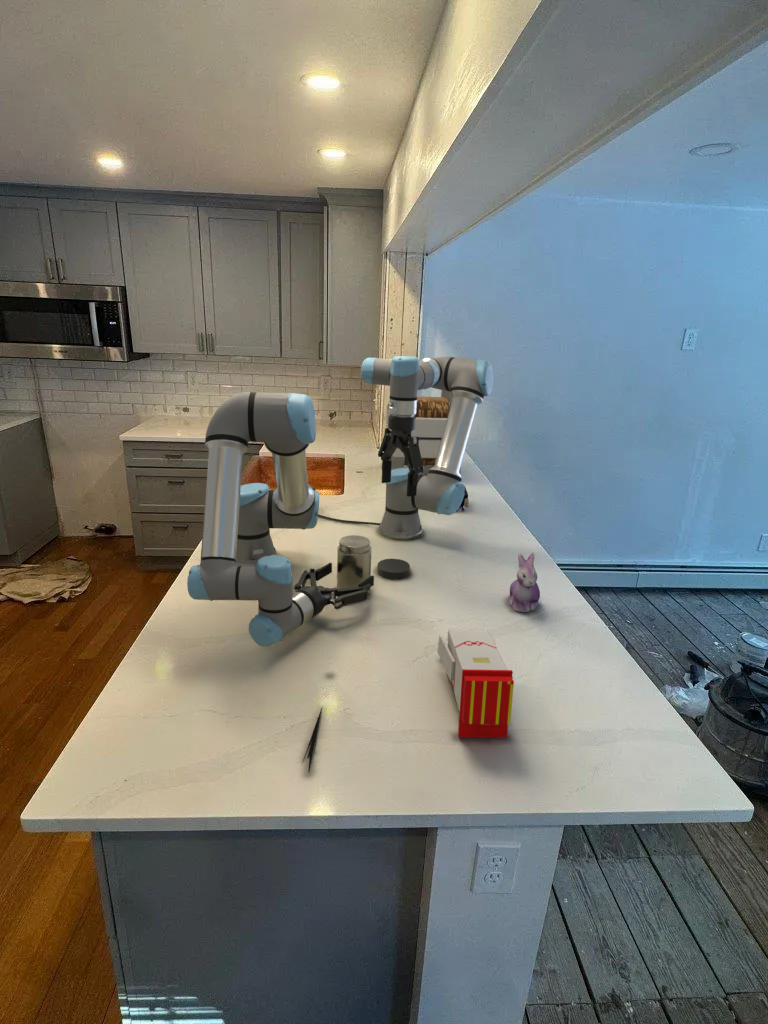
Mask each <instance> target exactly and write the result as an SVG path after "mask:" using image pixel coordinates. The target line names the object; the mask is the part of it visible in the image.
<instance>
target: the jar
mask: <svg viewBox="0 0 768 1024" xmlns="http://www.w3.org/2000/svg"><path fill="white" fill-rule="evenodd" d="M372 549H373V548H372V546H371V540H370V539H369V538H368V537H365V536H363V535H356V534H354V535H353V534H352V535H346V536H343V537H341V538H339V542H338V545H337V549H336V550H337V551H336V554H337V555H336V588H337V589H344V588H352V587H358V585H359V584H360V583H361V582H363V581H364V580H366V579H367V578H369V577H370V576H371V575H372V573H371V572H372V570H371V569H372ZM370 594H371V589H370V590H369V591H368V597H369V596H370Z"/></svg>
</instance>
